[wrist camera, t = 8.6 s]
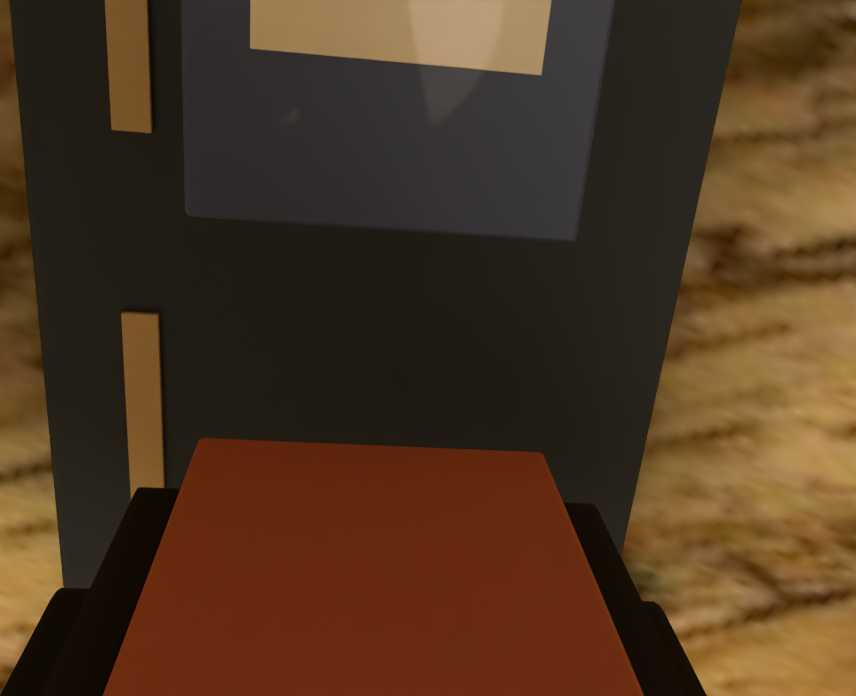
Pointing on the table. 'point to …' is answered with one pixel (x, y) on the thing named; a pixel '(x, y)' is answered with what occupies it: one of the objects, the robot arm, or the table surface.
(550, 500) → the orange cube
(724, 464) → the table surface
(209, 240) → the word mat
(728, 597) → the table surface
